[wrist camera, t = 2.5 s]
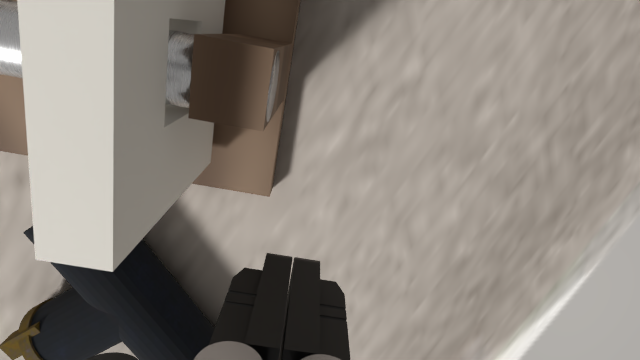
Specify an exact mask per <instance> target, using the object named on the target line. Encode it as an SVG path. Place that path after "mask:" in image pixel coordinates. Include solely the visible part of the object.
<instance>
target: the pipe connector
mask: <svg viewBox="0 0 640 360" xmlns="http://www.w3.org/2000/svg"><path fill="white" fill-rule="evenodd" d="M24 234H25V235H26V236H27V237H28V238H29V239H30V241H31V242H32V243H33V244H34V232H33V226H32V227H31V228H29V229H28V230H26V231H25V232H24ZM51 264H52V265H53V266H54V267H55V268H56V269H57V270H58V271H59V272H60V273H61V275H62V276H63V277H64V278H65V279H66V280H67V281H68V282H69V283H70V284H71V286H72V287H73V288H72V289H70V290H68V291H66V292H64V293H63V294H61V295H59V296H57V297H56V298H52V299H48V300H46V301H44V302H42V303H40V304H39V305H37V306H35V307H33V308H32V309H31V310H30V311H28V312H27V314H26V315H25V316H24V318H23V319H22V321H21V323H20V327H19V330H17V331H15V332H13V333H12V334H11V335H10V336H9V337H8V338H7V339H6V340H5V341H4V342H3V343H2V344H1V345H0V349H1V350H2V351H4V352H5V353H6V354H7V355H8V356H9V357H10V358H11V359H12V360H14V359H16V358H18V357H20V356H22V355H23V357H24V359H25V360H85V359H88V358H90V357H92V356H95V355H97V354H99V353H101V352H103V351H105V350H107V349H109V348H110V347H112V346H114V345H116V344H118V343H120V342H122V341H123V343H124V344H125V345H126V346H127V347H128V348H129V349H130V350H131V351H132V352H133V354H134V355H135V356H136V357H137V358H138V359H139V360H194V359H195V357H196V355H197V354H198V353H199V352H200V351H201V350H203V349H204V348H206V347H207V346H208V345H209V343H210V340H211V337H212V335H213V332H214V327H213V326H212V325H211V324H210V322H209V321H208V320H207V319H206V317H205V316H204V315H203V314H202V313H201V311H200V310H199V309H198V308H197V306H196V305H195V304H194V303H193V301H192V300H191V299H190V298H189V296H188V295H187V294H186V293H185V291H184V290H183V289H182V288H181V287H180V285H179V284H178V283H177V282H176V280H175V279H174V278H173V277H172V275H171V274H170V273H169V272H168V270H167V269H166V268H165V267H164V265H163V264H162V263H161V262H160V261H159V259H158V258H157V257H156V256H155V254H154V253H153V252H152V251H151V249H150V248H149V247H148V246H147V244H146V243H145V242H144V241H143V239H142V240H141V241H140V242H139V243H138V244H137V245H136V246H135V248H134V249H133V250H132V251H131V252H130V253H129V254H128V255H127V257H126V258H125V259H124V260H123V261H122V262H121V263H120V264H119V266H118V267H117V268H116V269H115V270H114V271H113V272H110V271H104V270H98V269H91V268H85V267H79V266H73V265H66V264H60V263H54V262H51Z"/></svg>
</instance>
